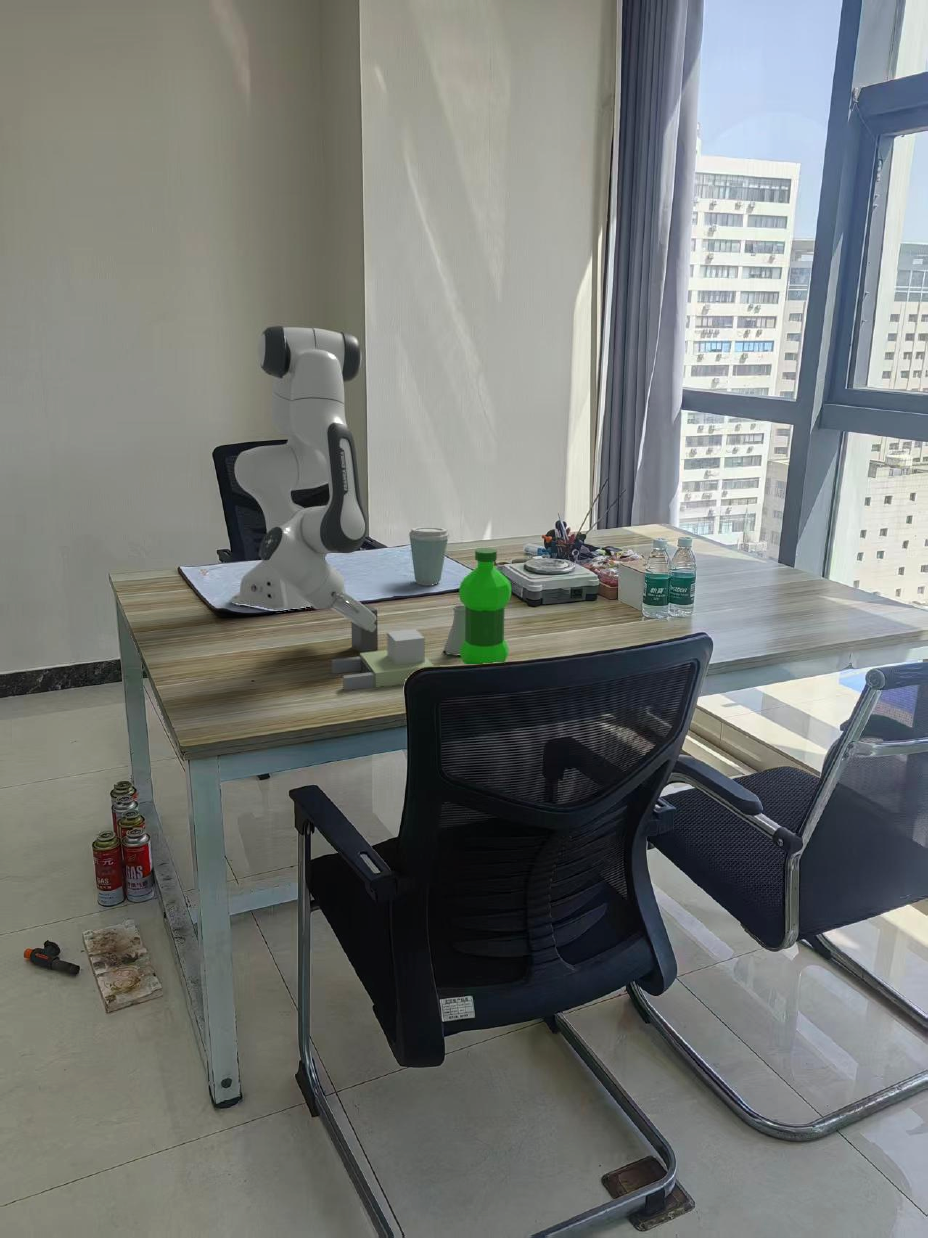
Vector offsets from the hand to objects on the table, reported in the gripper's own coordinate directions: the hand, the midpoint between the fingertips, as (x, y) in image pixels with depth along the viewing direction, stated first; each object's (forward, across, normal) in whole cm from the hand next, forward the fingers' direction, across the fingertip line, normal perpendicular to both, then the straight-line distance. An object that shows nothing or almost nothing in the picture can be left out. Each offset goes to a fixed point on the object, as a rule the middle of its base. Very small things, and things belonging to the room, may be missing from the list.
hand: (367, 625), depth 212 cm
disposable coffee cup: (+30, +38, -23) cm, 54 cm away
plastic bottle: (+14, -24, -7) cm, 28 cm away
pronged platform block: (+1, -16, +6) cm, 18 cm away
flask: (+15, -12, -8) cm, 21 cm away
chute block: (+3, 0, +4) cm, 5 cm away
